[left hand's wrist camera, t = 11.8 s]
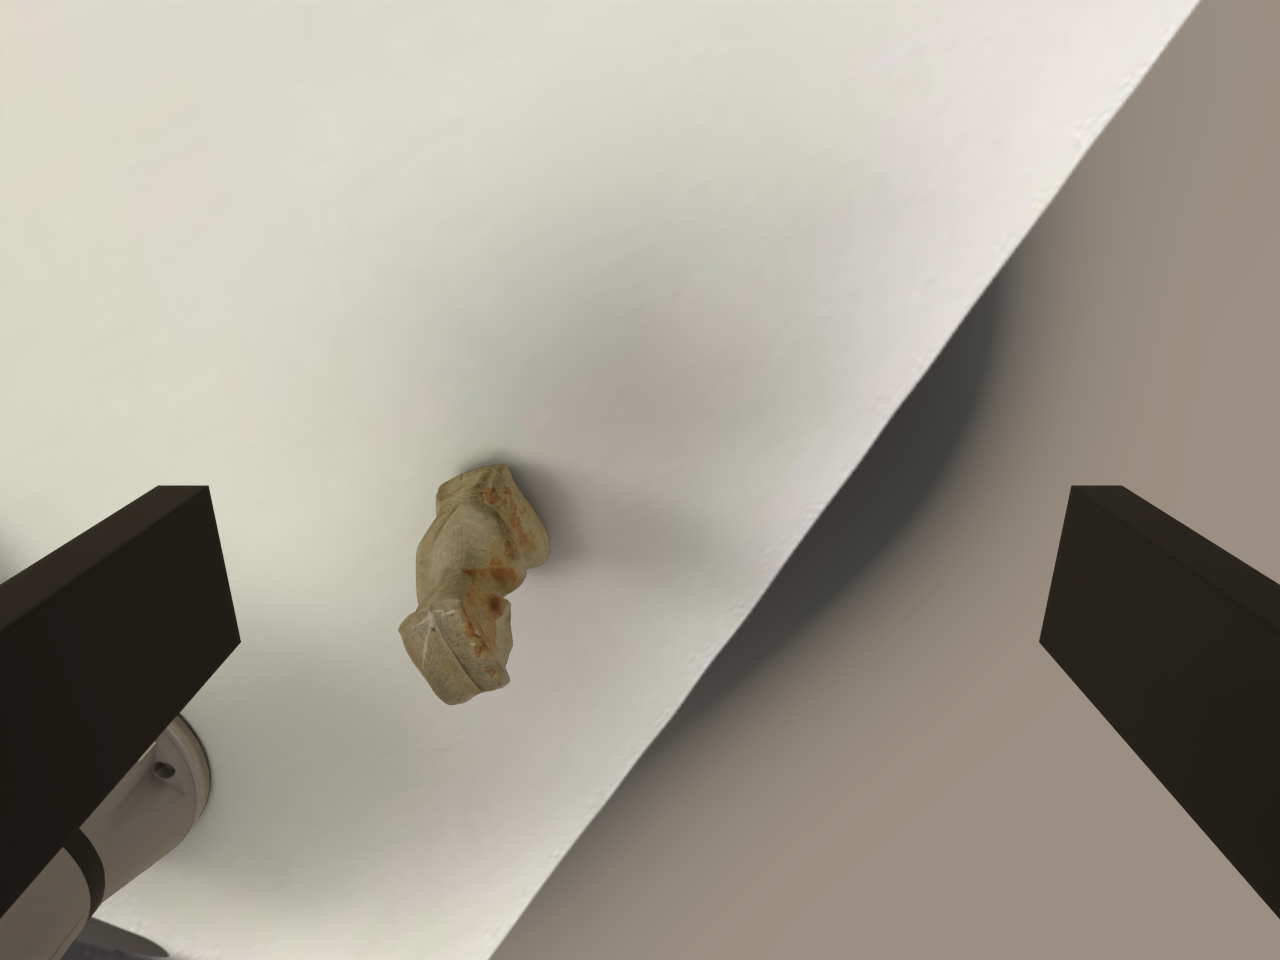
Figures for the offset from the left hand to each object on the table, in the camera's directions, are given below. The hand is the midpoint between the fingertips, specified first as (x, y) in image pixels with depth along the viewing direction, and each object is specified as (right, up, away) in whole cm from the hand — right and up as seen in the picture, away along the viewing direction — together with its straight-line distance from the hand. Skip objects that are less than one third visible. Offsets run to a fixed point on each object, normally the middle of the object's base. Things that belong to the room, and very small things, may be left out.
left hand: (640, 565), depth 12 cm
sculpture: (-8, 0, +35) cm, 36 cm away
